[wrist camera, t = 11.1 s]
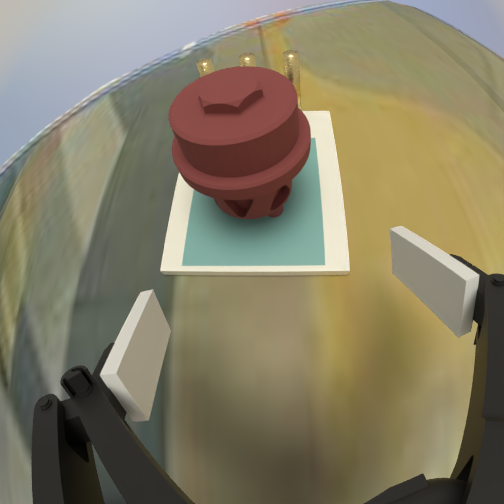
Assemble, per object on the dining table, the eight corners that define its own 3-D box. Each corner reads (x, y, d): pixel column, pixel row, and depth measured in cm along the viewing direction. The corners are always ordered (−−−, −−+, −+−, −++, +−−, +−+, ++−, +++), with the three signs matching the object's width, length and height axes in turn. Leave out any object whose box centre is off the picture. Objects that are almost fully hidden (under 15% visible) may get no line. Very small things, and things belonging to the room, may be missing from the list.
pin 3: (288, 127, 31) (282, 57, 23) (288, 118, 31) (282, 50, 23) (301, 126, 31) (298, 57, 22) (301, 118, 31) (297, 50, 23)
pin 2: (252, 128, 31) (238, 61, 23) (252, 120, 32) (239, 53, 24) (264, 127, 31) (254, 59, 23) (265, 119, 32) (254, 52, 24)
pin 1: (216, 131, 32) (195, 66, 24) (217, 123, 32) (197, 59, 24) (228, 130, 32) (209, 64, 24) (229, 122, 32) (212, 57, 24)
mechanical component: (187, 236, 27) (217, 151, 31) (300, 252, 25) (314, 159, 28) (124, 142, 16) (184, 52, 19) (300, 148, 14) (316, 50, 17)
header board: (164, 274, 27) (160, 270, 26) (194, 124, 34) (192, 118, 33) (347, 274, 25) (349, 270, 24) (328, 117, 32) (329, 110, 31)
